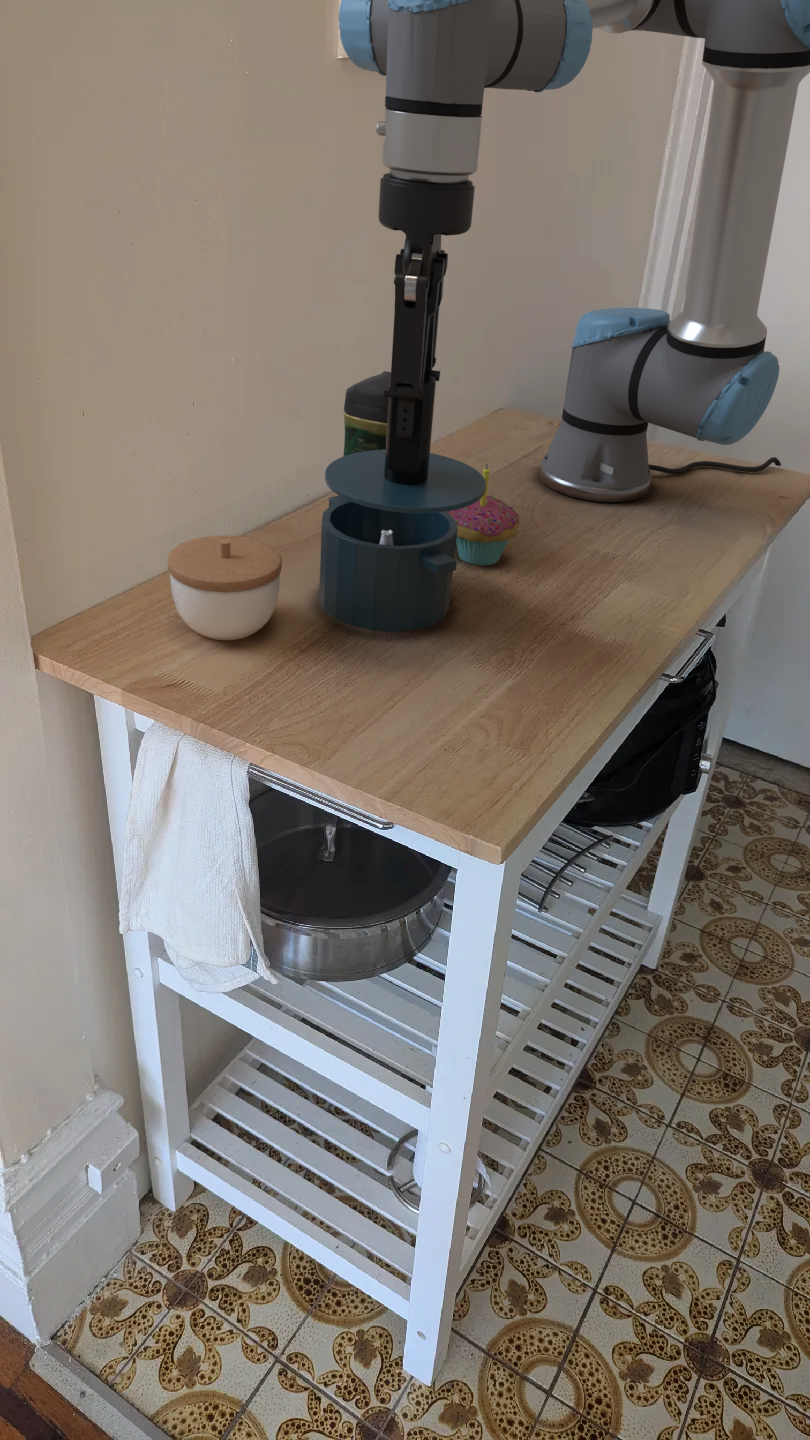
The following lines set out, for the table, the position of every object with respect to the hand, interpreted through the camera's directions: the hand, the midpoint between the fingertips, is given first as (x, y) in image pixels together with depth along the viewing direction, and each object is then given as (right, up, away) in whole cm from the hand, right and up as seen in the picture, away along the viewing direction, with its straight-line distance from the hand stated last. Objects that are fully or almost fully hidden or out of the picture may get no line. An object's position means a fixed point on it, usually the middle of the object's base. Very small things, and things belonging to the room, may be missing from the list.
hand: (407, 460), depth 96 cm
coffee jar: (-4, -1, +31) cm, 32 cm away
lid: (0, -2, +1) cm, 2 cm away
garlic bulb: (-2, -11, +15) cm, 19 cm away
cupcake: (+8, -5, +28) cm, 29 cm away
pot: (-2, -11, +15) cm, 19 cm away
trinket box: (-18, -15, +9) cm, 25 cm away
